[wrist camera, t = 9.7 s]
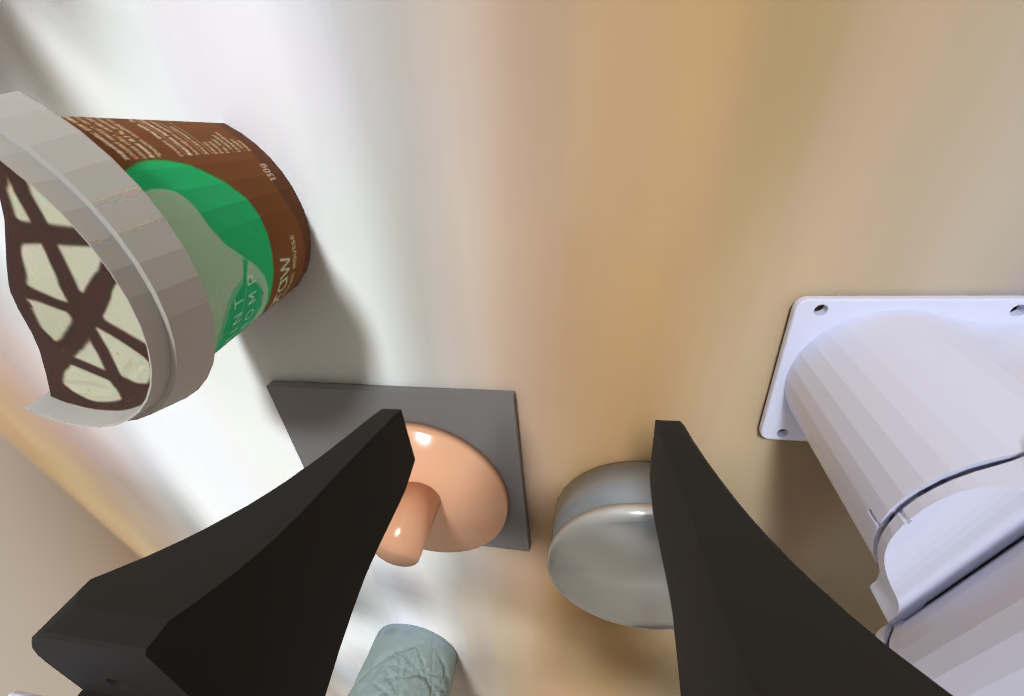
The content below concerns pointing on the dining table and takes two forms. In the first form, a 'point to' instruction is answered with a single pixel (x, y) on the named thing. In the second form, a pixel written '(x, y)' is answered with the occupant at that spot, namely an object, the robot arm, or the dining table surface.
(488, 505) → the lid
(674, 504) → the robot arm
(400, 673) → the embossed green pot
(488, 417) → the mat
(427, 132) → the dining table surface
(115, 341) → the food container
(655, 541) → the bowl
